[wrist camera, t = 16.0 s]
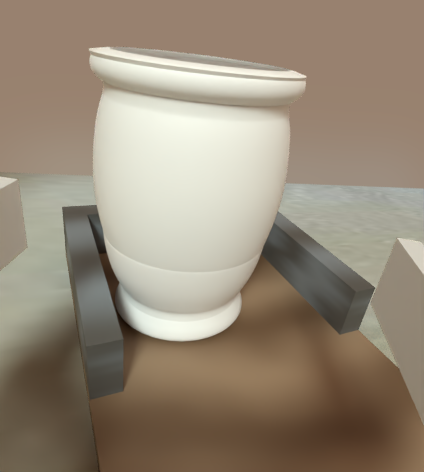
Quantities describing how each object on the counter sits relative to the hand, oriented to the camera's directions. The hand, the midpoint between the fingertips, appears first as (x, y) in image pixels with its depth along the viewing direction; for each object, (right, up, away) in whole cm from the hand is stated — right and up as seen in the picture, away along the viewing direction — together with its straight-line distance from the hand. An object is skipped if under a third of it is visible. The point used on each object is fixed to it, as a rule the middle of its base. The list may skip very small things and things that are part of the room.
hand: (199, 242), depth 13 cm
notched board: (+1, -6, +11) cm, 13 cm away
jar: (-2, -4, +12) cm, 13 cm away
